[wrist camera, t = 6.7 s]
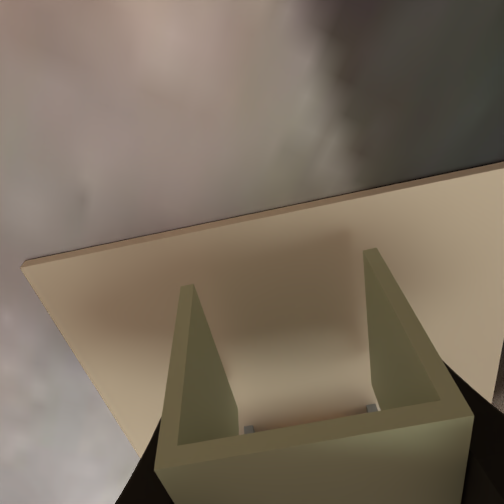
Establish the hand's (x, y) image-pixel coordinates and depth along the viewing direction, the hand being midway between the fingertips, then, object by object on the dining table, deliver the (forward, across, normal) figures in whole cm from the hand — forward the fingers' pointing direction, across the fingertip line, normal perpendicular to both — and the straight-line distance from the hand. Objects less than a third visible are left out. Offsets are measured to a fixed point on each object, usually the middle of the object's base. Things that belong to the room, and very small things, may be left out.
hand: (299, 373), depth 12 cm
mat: (+3, 0, +5) cm, 6 cm away
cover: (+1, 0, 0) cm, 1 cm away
